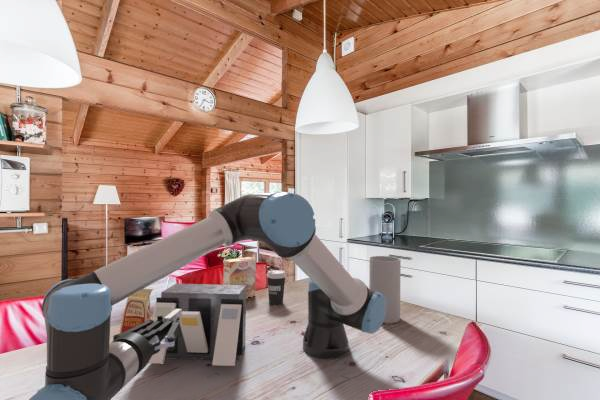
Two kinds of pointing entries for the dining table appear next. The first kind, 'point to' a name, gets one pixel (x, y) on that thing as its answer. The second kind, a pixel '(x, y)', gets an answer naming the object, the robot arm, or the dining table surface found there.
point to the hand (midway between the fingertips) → (178, 314)
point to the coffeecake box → (241, 273)
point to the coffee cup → (276, 286)
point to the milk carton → (136, 310)
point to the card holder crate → (205, 314)
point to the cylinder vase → (386, 284)
